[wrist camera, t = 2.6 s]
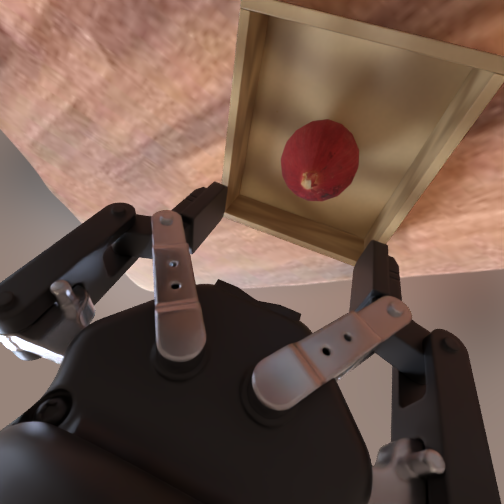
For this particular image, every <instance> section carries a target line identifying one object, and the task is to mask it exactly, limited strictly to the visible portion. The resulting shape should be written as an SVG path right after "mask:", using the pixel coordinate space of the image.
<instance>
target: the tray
mask: <svg viewBox="0 0 504 504" xmlns="http://www.w3.org/2000/svg"><path fill="white" fill-rule="evenodd" d="M503 83H504V56H501V55H497V54H493V53H489V52H484V51H480V50H476V49H472V48H468V47H464V46H460V45H456V44H452V43H448V42H444V41H440V40H436V39H432V38H428V37H423V36H419V35H415V34H411V33H407V32H403V31H399V30H395V29H391V28H387V27H383V26H379V25H375V24H371V23H366V22H362V21H358V20H354V19H350V18H346V17H342V16H338V15H334V14H330V13H326V12H322V11H318V10H314V9H310V8H305V7H301V6H297V5H293V4H289V3H285V2H281V1H277V0H241V4H240V13H239V23H238V32H237V42H236V51H235V61H234V71H233V80H232V90H231V99H230V109H229V118H228V128H227V137H226V147H225V156H224V166H223V175H222V184H223V185H225V186H227V187H228V192H227V200H226V207H225V212H224V215H223V217H224V218H227V219H229V220H232V221H235V222H237V223H240V224H243V225H245V226H248V227H251V228H253V229H256V230H259V231H261V232H264V233H267V234H269V235H272V236H275V237H277V238H280V239H283V240H285V241H288V242H291V243H293V244H296V245H299V246H301V247H304V248H307V249H309V250H312V251H315V252H317V253H320V254H323V255H325V256H328V257H331V258H333V259H336V260H339V261H341V262H344V263H347V264H349V265H352V266H355V264H356V262H357V260H358V259H359V257H360V256H361V254H362V253H363V251H364V250H365V248H366V247H367V245H368V244H369V242H370V241H371V240H375V241H378V242H381V243H384V244H386V243H387V242H388V240H389V239H390V237H391V236H392V235H393V233H394V232H395V231H396V229H397V228H398V227H399V225H400V224H401V222H402V221H403V220H404V218H405V217H406V216H407V214H408V213H409V211H410V210H411V209H412V207H413V206H414V205H415V203H416V202H417V200H418V199H419V198H420V196H421V195H422V194H423V192H424V191H425V190H426V188H427V187H428V185H429V184H430V183H431V181H432V180H433V179H434V177H435V176H436V174H437V173H438V172H439V170H440V169H441V168H442V166H443V165H444V163H445V162H446V161H447V159H448V158H449V157H450V155H451V154H452V153H453V151H454V150H455V148H456V147H457V146H458V144H459V143H460V142H461V140H462V139H463V137H464V136H465V135H466V133H467V132H468V131H469V129H470V128H471V126H472V125H473V124H474V122H475V121H476V120H477V118H478V117H479V116H480V114H481V113H482V111H483V110H484V109H485V107H486V106H487V105H488V103H489V102H490V100H491V99H492V98H493V96H494V95H495V94H496V92H497V91H498V89H499V88H500V87H501V85H502V84H503ZM324 119H329V120H332V121H335V122H338V123H340V124H343V125H344V126H345V127H346V128H347V129H348V130H349V131H350V132H351V133H352V134H353V137H354V139H355V141H356V144H357V146H358V148H359V166H358V170H357V172H356V174H355V177H354V179H353V181H352V183H351V184H350V185H349V186H348V187H347V188H346V189H345V190H344V191H343V192H342V193H341V194H340V195H338V196H337V197H334V198H331V199H328V200H325V201H307V200H305V199H303V198H300V197H298V196H296V195H295V194H294V193H293V192H292V191H291V190H290V189H289V188H288V187H287V185H286V183H285V181H284V179H283V177H282V170H281V156H282V153H283V150H284V147H285V144H286V142H287V141H288V139H289V138H290V137H291V136H292V135H293V134H294V132H295V131H296V130H297V129H299V128H301V127H303V126H304V125H306V124H308V123H310V122H312V121H316V120H324Z"/></svg>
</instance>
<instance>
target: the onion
mask: <svg viewBox="0 0 504 504" xmlns="http://www.w3.org/2000/svg"><path fill="white" fill-rule="evenodd" d="M358 166H359V148H358V146H357V144H356V141H355V139H354V137H353V134H352V133H351V132H350V131H349V130H348V129H347V128H346V127H345V126H344V125H343V124H340V123H338V122H335V121H332V120H329V119H324V120H316V121H312V122H310V123H308V124H306V125H304V126H303V127H301V128H299V129H297V130H296V131H295V132H294V134H293V135H292V136H291V137H290V138H289V139H288V141H287V142H286V144H285V147H284V150H283V153H282V156H281V170H282V177H283V179H284V181H285V183H286V185H287V187H288V188H289V189H290V190H291V191H292V192H293V193H294V194H295V195H296V196H298V197H300V198H303V199H305V200H307V201H325V200H328V199H331V198H334V197H337V196H338V195H340V194H341V193H342V192H343V191H344V190H345V189H346V188H347V187H348V186H349V185H350V184H351V183H352V181H353V179H354V177H355V174H356V172H357V170H358Z"/></svg>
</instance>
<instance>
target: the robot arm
mask: <svg viewBox="0 0 504 504" xmlns="http://www.w3.org/2000/svg"><path fill="white" fill-rule="evenodd" d="M227 192H228V187H227V186H225V185H223V184H220V183H217V182H213V183H212V184H211V185H210V186H209V187H208V188H205V187H202V188H199V189H196V190H194V191H193V192H192V193H191V194H190V195H188V196H187V197H186V198H185V199H184V200H183V201H182V202H180V203H179V204H178V205H177V206H176V207H175V208H173V209H172V210H162V211H158V212H156V213H155V214H153V216H144V215H137V214H136V212H135V208H134V207H133V206H132V205H130V204H127V203H113V204H110V205H108V206H106V207H105V208H103V209H102V210H101V211H99V212H98V213H96V214H95V215H94V216H92V217H91V218H89V219H88V220H87V221H85V222H84V223H82V224H81V225H80V226H78V227H77V228H76V229H74V230H73V231H72V232H70V233H69V234H67V235H66V236H64V237H63V238H62V239H60V240H59V241H58V242H56V243H55V244H53V245H52V246H51V247H49V248H48V249H47V250H45V251H44V252H42V253H41V254H40V255H38V256H37V257H35V258H34V259H33V260H31V261H30V262H28V263H27V264H26V265H24V266H23V267H22V268H20V269H19V270H17V271H16V272H15V273H13V274H12V275H10V276H9V277H8V278H6V279H5V280H4V281H2V282H1V283H0V342H1V343H2V344H3V345H4V346H5V347H6V348H8V349H9V350H11V351H12V352H13V353H14V354H15V355H16V356H17V357H18V358H20V359H22V360H28V361H29V360H36V359H39V358H41V357H44V358H46V359H49V360H51V361H54V362H56V363H58V364H61V366H60V368H59V370H58V373H57V375H56V377H55V379H54V381H53V382H52V384H51V385H50V387H49V388H48V390H47V392H46V393H45V394H44V395H43V396H42V398H41V399H40V400H39V401H38V402H37V403H35V404H34V405H33V406H32V407H31V408H30V409H28V410H27V411H26V412H25V413H23V415H21V416H20V417H18V418H17V419H16V420H14V421H13V422H12V423H11V424H9V425H7V426H6V427H5V428H3V429H2V430H1V431H0V504H501V501H500V496H499V491H498V487H497V482H496V477H495V473H494V469H493V464H492V460H491V455H490V450H489V446H488V442H487V437H486V432H485V428H484V423H483V419H482V414H481V409H480V405H479V400H478V396H477V391H476V387H475V382H474V378H473V373H472V369H471V364H470V360H469V355H468V351H467V349H466V347H465V346H464V344H463V343H462V342H461V341H460V340H459V339H458V338H457V337H456V336H455V335H453V334H452V333H450V332H448V331H445V330H443V329H435V330H433V331H432V332H429V331H428V330H426V329H425V328H423V327H421V326H420V325H418V324H417V323H415V322H414V321H413V320H412V314H411V311H410V309H409V308H408V307H407V305H406V304H404V303H403V302H402V297H401V286H400V275H399V266H398V264H397V262H396V261H395V259H394V258H393V257H390V256H388V245H386V244H384V243H381V242H378V241H375V240H371V241H370V242H369V244H368V245H367V247H366V248H365V250H364V251H363V253H362V254H361V256H360V257H359V259H358V260H357V262H356V264H355V267H354V270H353V279H352V289H351V300H350V310H349V313H347V314H345V315H343V316H342V317H340V318H338V319H337V320H335V321H333V322H331V323H330V324H328V325H326V326H324V327H323V328H321V329H319V330H318V331H316V332H314V333H312V332H311V330H309V328H308V327H307V326H306V325H305V324H303V323H302V322H301V321H299V320H300V316H301V314H300V313H298V312H295V311H293V310H291V309H288V308H286V307H284V306H281V305H277V304H272V303H267V302H261V301H257V300H255V299H254V298H252V297H251V296H249V295H248V294H247V293H245V292H244V291H242V290H241V289H240V288H238V287H236V286H234V285H231V284H229V283H226V282H224V281H222V280H219V279H218V280H217V282H216V283H215V285H213V284H198V285H196V284H195V278H194V273H193V267H192V262H191V256H190V254H193V253H194V252H195V251H196V250H197V248H198V247H199V246H200V245H201V244H202V242H203V241H204V240H205V239H206V238H207V236H208V235H209V234H210V233H211V231H212V230H213V229H214V228H215V227H216V225H217V224H218V223H219V222H220V221H221V219H222V218H223V215H224V212H225V207H226V200H227ZM139 257H141V258H149V259H153V277H154V296H155V299H154V300H151V301H148V302H146V303H143V304H140V305H138V306H135V307H132V308H129V309H127V310H124V311H121V312H118V313H116V314H113V315H110V316H108V317H105V318H102V319H100V320H97V321H95V322H93V323H92V324H90V322H91V321H92V319H93V318H94V316H95V308H94V305H95V304H96V303H97V302H98V301H99V300H100V299H101V298H102V297H103V295H104V294H105V293H106V292H107V291H108V290H109V289H110V288H111V287H112V286H113V285H114V284H115V283H116V282H117V281H118V280H119V279H120V277H121V276H122V275H123V274H124V273H125V272H126V271H127V270H128V269H129V268H130V267H131V266H132V265H133V264H134V263H135V261H136V260H137V259H138V258H139ZM89 324H90V325H89ZM374 353H376V354H378V355H379V356H380V357H382V358H383V359H384V360H386V361H387V362H388V363H390V364H391V365H392V366H393V367H392V420H391V443H388V444H385V445H383V446H382V447H381V448H380V449H379V452H378V455H377V460H376V463H375V465H374V466H372V464H371V459H370V455H369V452H368V449H367V447H366V445H365V442H364V440H363V438H362V435H361V433H360V431H359V429H358V427H357V425H356V423H355V420H354V419H353V416H352V414H351V412H350V410H349V407H348V405H347V403H346V401H345V399H344V397H343V395H342V392H341V390H340V388H339V386H338V384H337V382H338V381H339V380H340V379H342V378H343V377H344V376H345V375H347V374H348V373H349V372H350V371H351V370H353V369H354V368H356V367H357V366H358V365H359V364H361V363H362V362H364V361H365V360H366V359H368V358H369V357H370V356H372V355H373V354H374Z"/></svg>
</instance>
